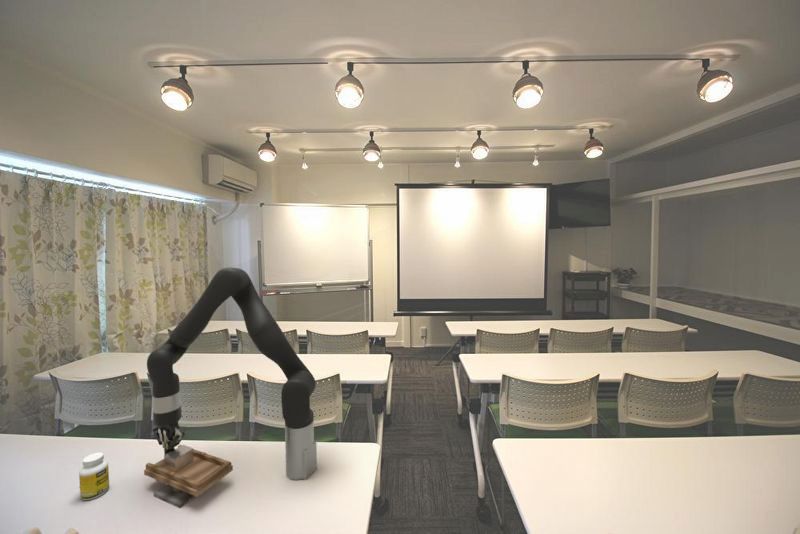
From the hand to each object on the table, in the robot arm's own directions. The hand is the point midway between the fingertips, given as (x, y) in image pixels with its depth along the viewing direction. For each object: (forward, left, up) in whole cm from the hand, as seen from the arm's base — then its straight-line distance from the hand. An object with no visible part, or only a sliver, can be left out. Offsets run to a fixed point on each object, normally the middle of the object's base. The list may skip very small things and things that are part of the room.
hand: (169, 457), depth 106 cm
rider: (-5, 0, -1) cm, 5 cm away
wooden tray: (-9, 0, -7) cm, 12 cm away
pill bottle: (+15, +13, -7) cm, 21 cm away
